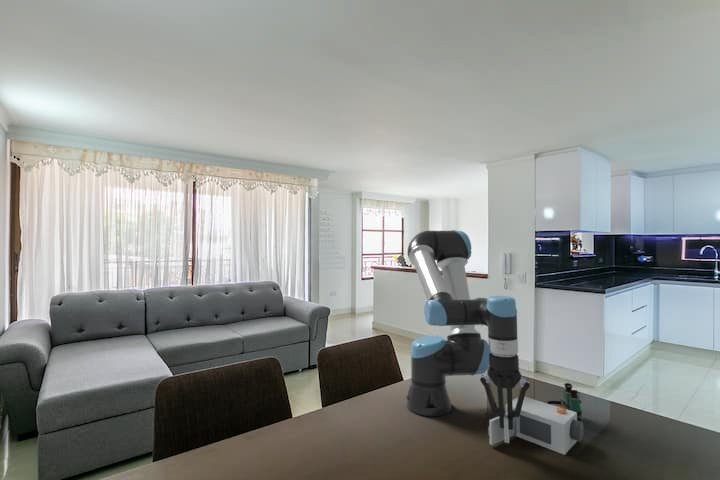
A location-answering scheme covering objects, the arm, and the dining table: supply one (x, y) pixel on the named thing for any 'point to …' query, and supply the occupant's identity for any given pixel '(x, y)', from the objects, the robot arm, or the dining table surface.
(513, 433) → the side door
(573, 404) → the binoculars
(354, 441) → the dining table surface
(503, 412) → the robot arm
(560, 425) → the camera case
